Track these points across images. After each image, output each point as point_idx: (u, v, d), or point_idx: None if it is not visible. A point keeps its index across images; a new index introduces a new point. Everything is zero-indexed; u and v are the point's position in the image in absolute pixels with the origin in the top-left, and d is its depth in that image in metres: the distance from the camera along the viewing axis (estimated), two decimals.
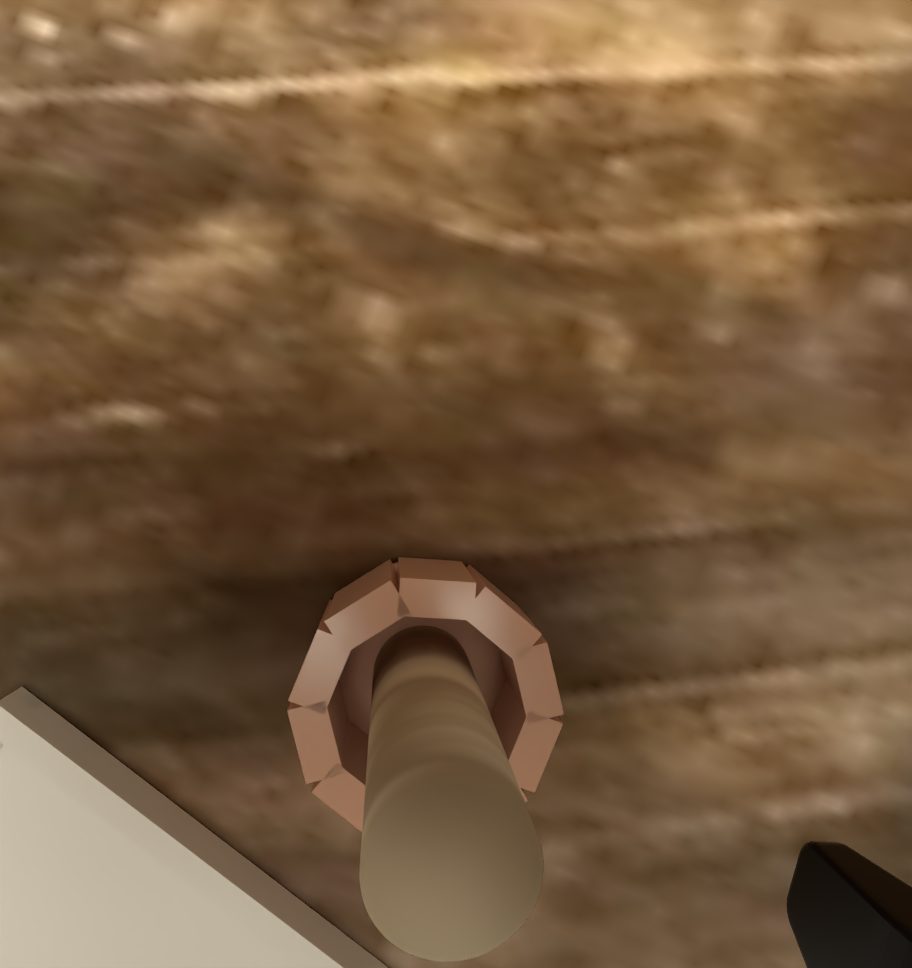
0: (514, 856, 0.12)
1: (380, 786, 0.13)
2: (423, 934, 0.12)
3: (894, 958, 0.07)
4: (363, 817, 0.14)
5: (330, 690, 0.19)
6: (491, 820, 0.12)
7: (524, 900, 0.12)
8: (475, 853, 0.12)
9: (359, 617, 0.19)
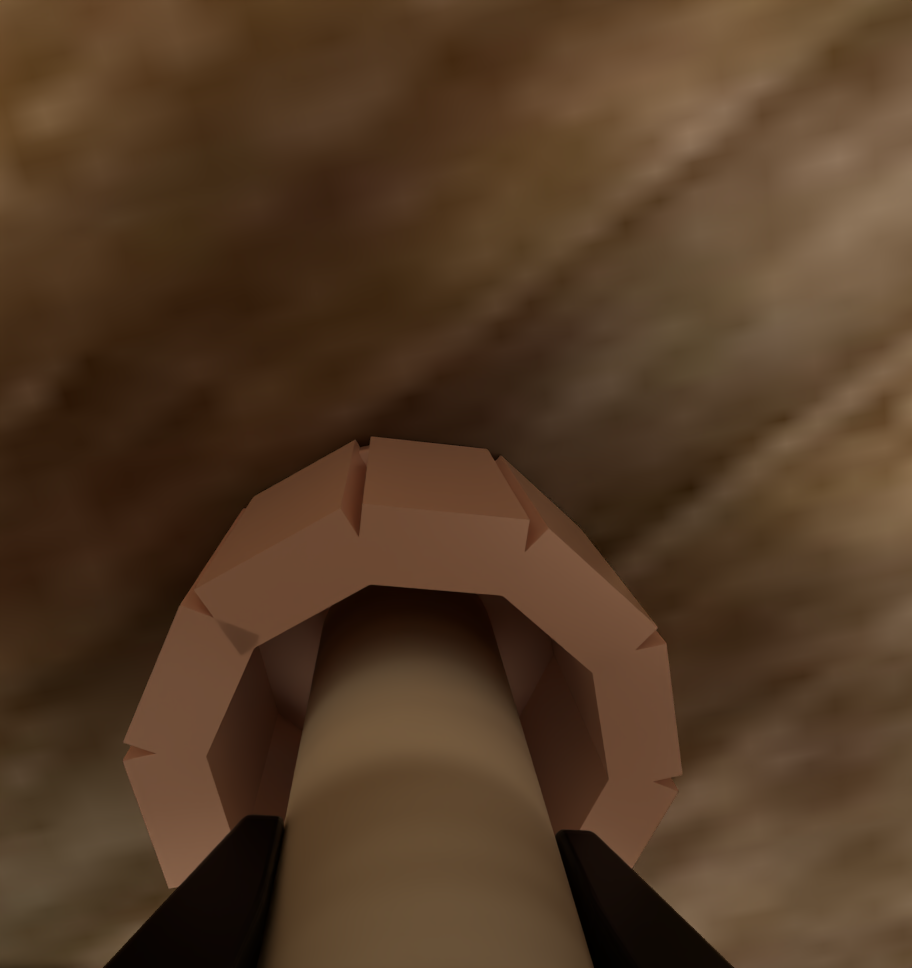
0: None
1: None
2: None
3: (593, 949, 0.07)
4: None
5: (225, 833, 0.10)
6: None
7: None
8: None
9: (177, 699, 0.09)
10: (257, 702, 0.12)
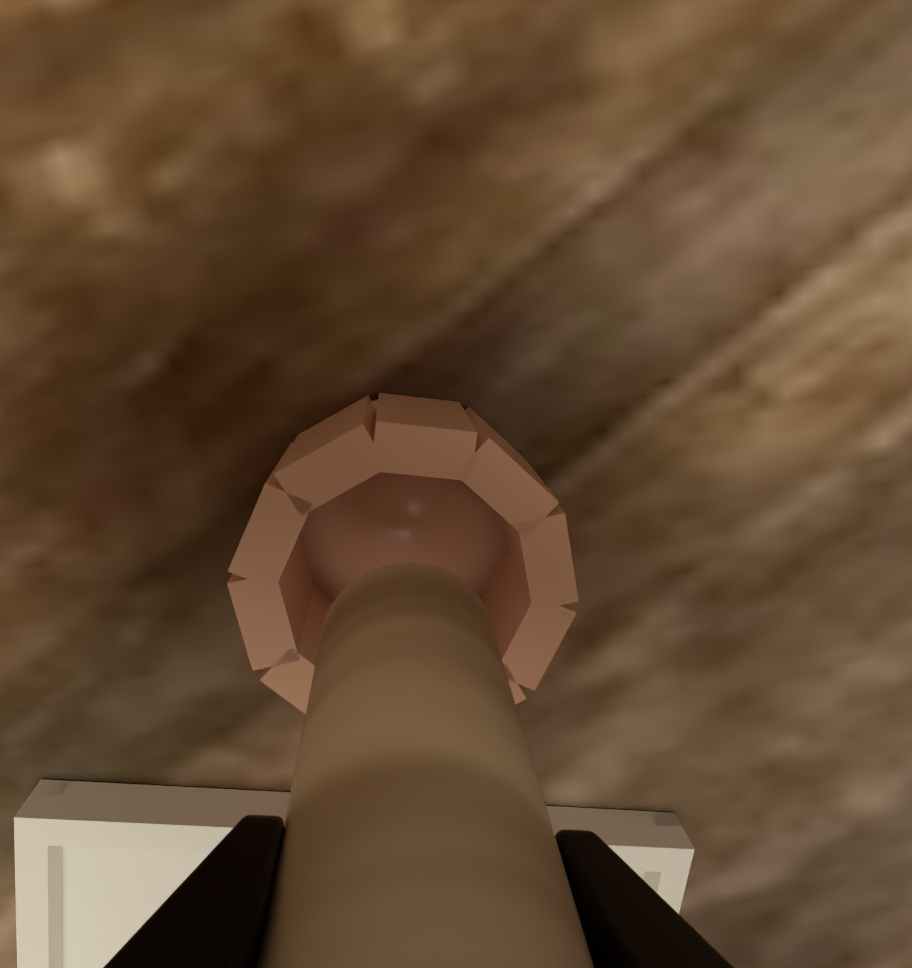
0: None
1: None
2: None
3: (593, 949, 0.07)
4: None
5: (288, 634, 0.15)
6: None
7: None
8: None
9: (261, 543, 0.15)
10: (302, 571, 0.18)
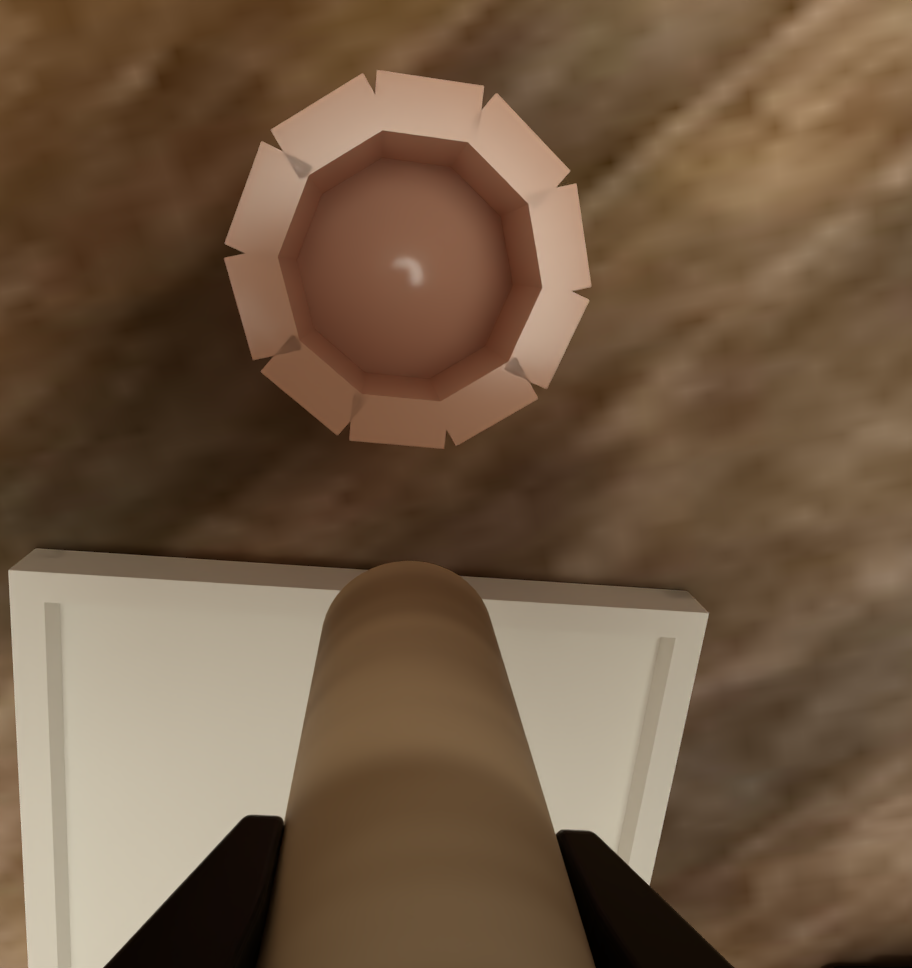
0: None
1: None
2: None
3: (593, 949, 0.07)
4: None
5: (289, 319, 0.15)
6: None
7: None
8: None
9: (259, 212, 0.14)
10: (301, 295, 0.17)
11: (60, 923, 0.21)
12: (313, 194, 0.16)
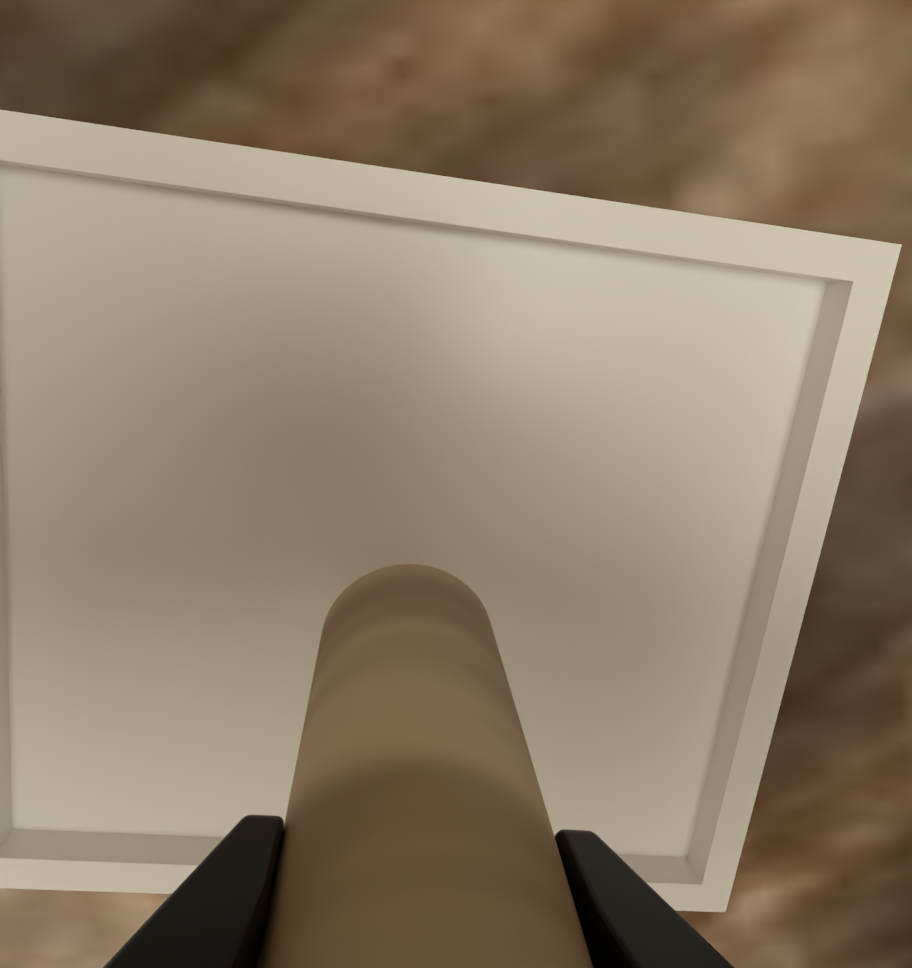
0: None
1: None
2: None
3: (593, 949, 0.07)
4: None
5: None
6: None
7: None
8: None
9: None
10: None
11: None
12: None
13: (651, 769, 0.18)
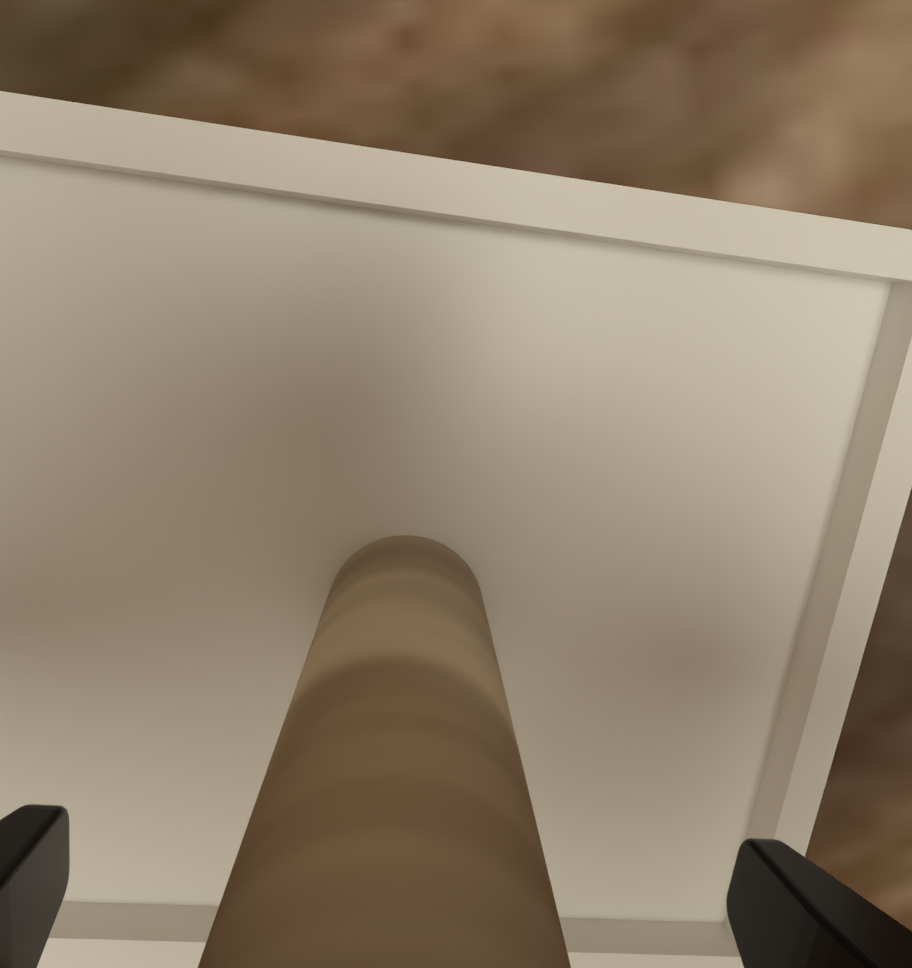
0: None
1: None
2: None
3: (819, 955, 0.07)
4: None
5: None
6: None
7: None
8: None
9: None
10: None
11: None
12: None
13: (685, 827, 0.16)
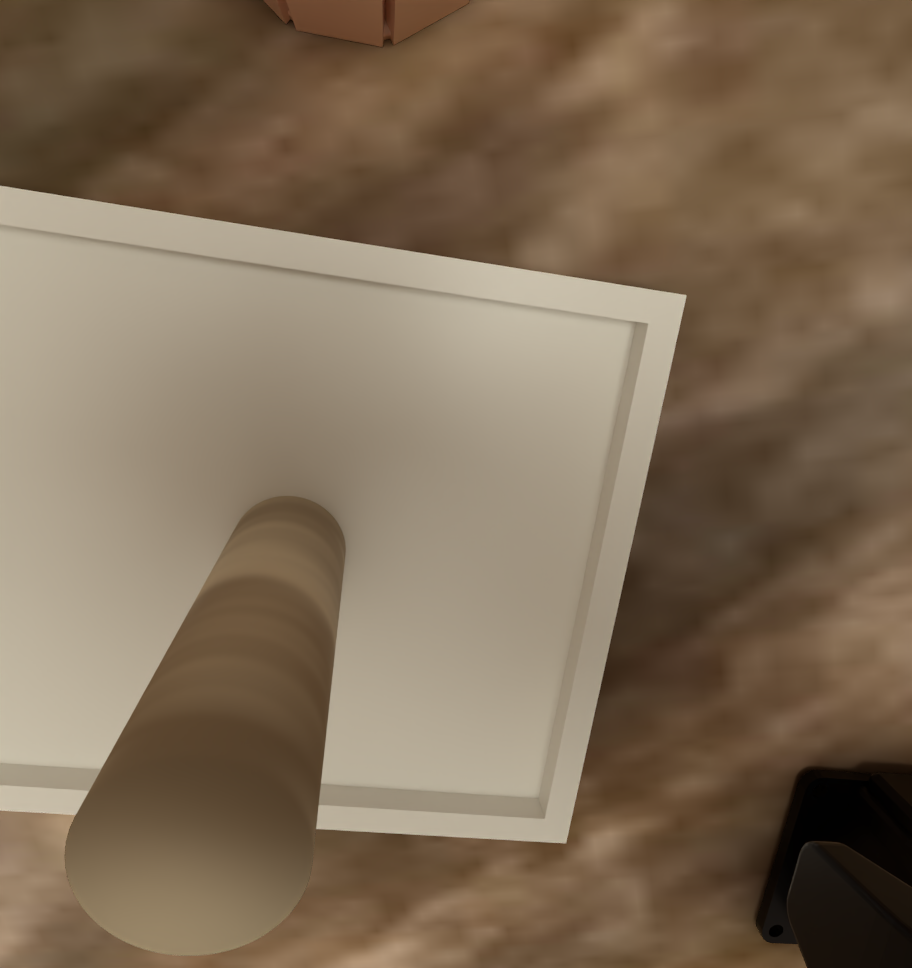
0: (247, 809, 0.09)
1: None
2: (209, 930, 0.10)
3: (894, 958, 0.07)
4: None
5: None
6: (191, 790, 0.09)
7: (296, 840, 0.09)
8: (200, 831, 0.09)
9: None
10: None
11: None
12: None
13: (505, 722, 0.22)
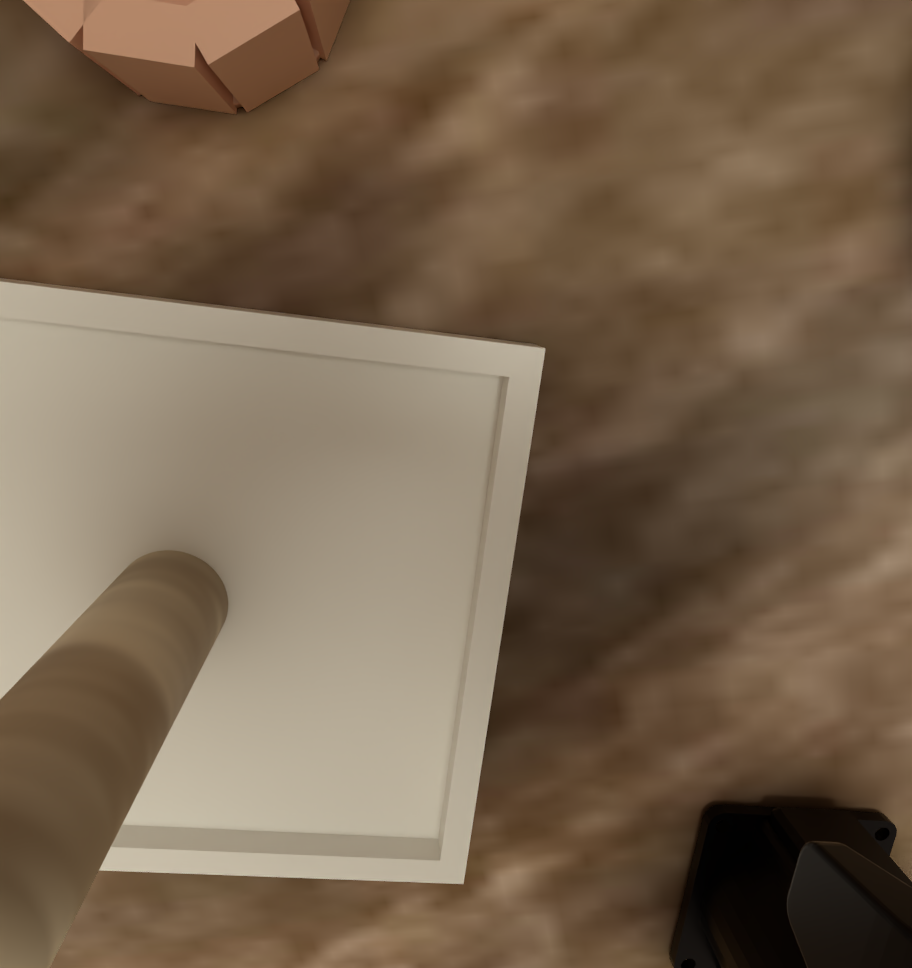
0: None
1: None
2: None
3: (894, 958, 0.07)
4: None
5: None
6: None
7: (28, 930, 0.10)
8: None
9: None
10: None
11: None
12: None
13: (399, 765, 0.22)
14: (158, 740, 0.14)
